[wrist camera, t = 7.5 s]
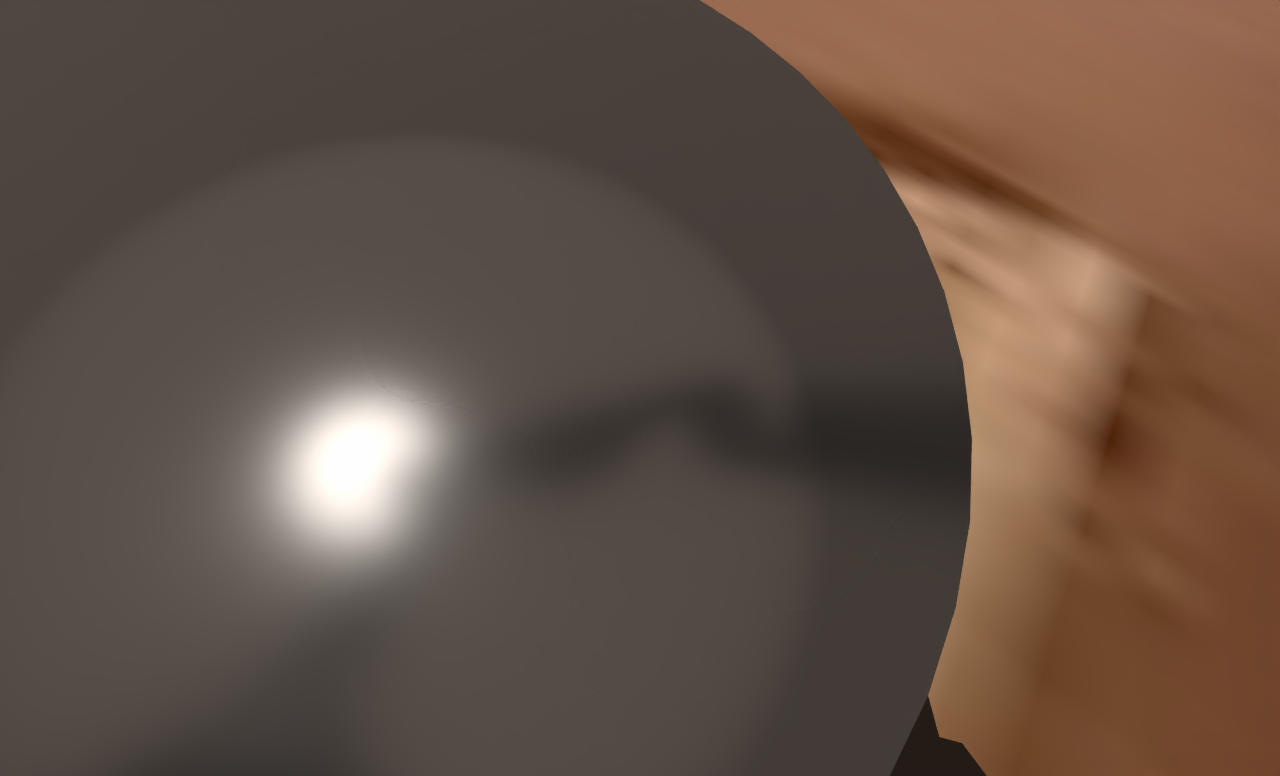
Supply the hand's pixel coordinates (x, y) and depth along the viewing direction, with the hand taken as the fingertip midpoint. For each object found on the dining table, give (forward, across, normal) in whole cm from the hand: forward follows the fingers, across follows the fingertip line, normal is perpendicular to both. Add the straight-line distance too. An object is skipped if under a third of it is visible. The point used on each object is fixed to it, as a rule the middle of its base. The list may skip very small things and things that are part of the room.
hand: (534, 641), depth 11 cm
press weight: (+6, 0, +7) cm, 9 cm away
